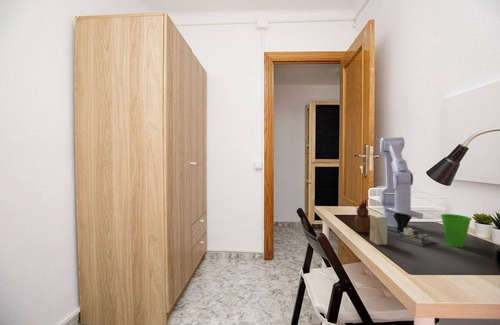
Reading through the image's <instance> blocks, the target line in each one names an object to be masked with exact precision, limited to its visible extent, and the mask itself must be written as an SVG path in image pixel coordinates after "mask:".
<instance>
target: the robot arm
mask: <svg viewBox="0 0 500 325" xmlns="http://www.w3.org/2000/svg"><path fill="white" fill-rule="evenodd" d="M405 144H406V143H405V139H404V137H403V136H400V137H399V136H398V137H396V136H395V137H381V138H380V140H379V152H380V155H382V156H383V157H384V162H385V163H384V165H385V167H384V168H385V187H384V188H383V189H381V190H380V192H379V194H380V195H379V204H380V205H381V206H382V207H383V208H382V209H383V212H382V215H383V216H386V217H388V222H387V226H390V227H394V228H396V226H397V225H398V227H399V231H400V232H404V228H406V227H408V225H409V223H410V221H411V219H413V218H417V219H419V220H421V219H423V218H424V217H423V216H424V214H423V213H422V212H418V211H415V210H412V208H411V207H412V206H411V205H412V204H411V202H412V199H411V196H412V195H411V194H412V193H411V191H412V190H411V188H412V186H413V184H414V174H413V172H412V171H411V170H410V169H409V167H408V165H407V160H405V159H404V158H403V155H402V151H403V150H404V148H405Z"/></svg>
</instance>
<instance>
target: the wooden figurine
mask: <svg viewBox="0 0 500 325" xmlns="http://www.w3.org/2000/svg"><path fill="white" fill-rule="evenodd" d="M358 205H359V206H358V207H357V208H356V214H357V215H355V217H354V221H353V222H354V226H355V230H356V231H357V232H359V233H363V234H366V233H369V232H370V215H369V209H368V208H367V199H366V198H365V201H364V200H362V202H361V203H360V204H358ZM368 215H369V216H368Z"/></svg>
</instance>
